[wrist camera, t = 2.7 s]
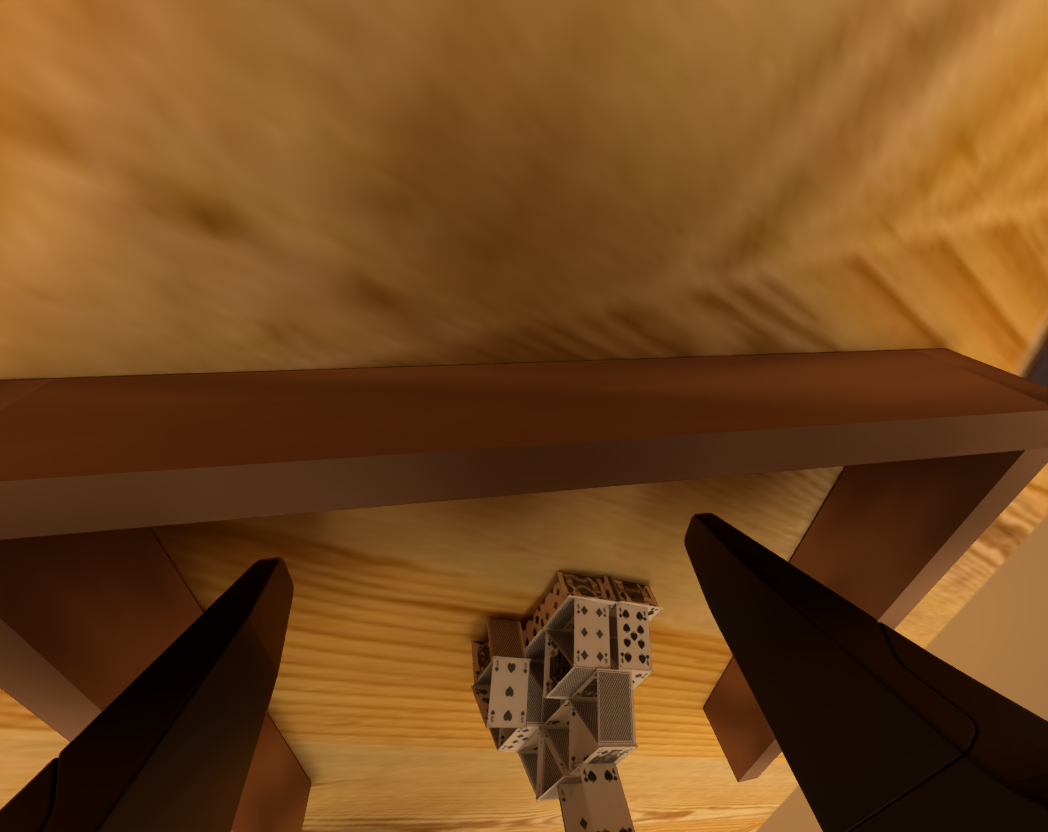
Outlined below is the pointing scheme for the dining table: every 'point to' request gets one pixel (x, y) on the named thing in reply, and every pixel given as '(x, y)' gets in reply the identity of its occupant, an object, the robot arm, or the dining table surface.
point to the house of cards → (570, 693)
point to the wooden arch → (473, 488)
